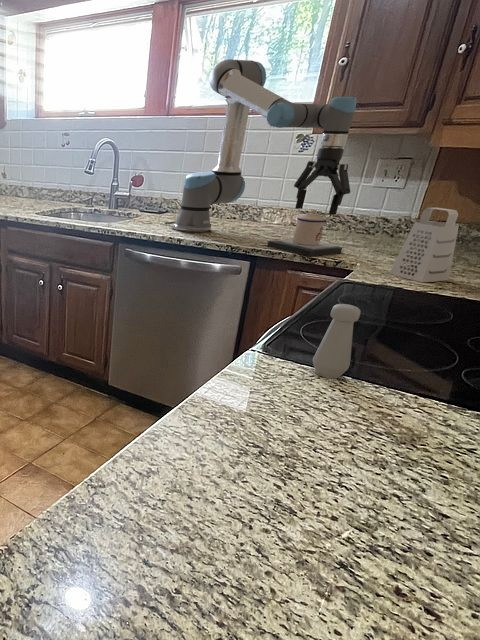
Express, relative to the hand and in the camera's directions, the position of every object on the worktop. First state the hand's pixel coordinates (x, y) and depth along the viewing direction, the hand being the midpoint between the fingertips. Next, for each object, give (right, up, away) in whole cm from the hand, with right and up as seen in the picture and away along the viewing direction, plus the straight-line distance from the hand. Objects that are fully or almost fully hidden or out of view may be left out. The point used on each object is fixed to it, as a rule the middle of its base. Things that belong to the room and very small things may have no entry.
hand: (314, 211), depth 187 cm
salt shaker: (-53, -56, -91) cm, 119 cm away
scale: (-1, -13, +6) cm, 14 cm away
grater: (+15, -28, -28) cm, 42 cm away
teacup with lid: (0, -10, +5) cm, 11 cm away
